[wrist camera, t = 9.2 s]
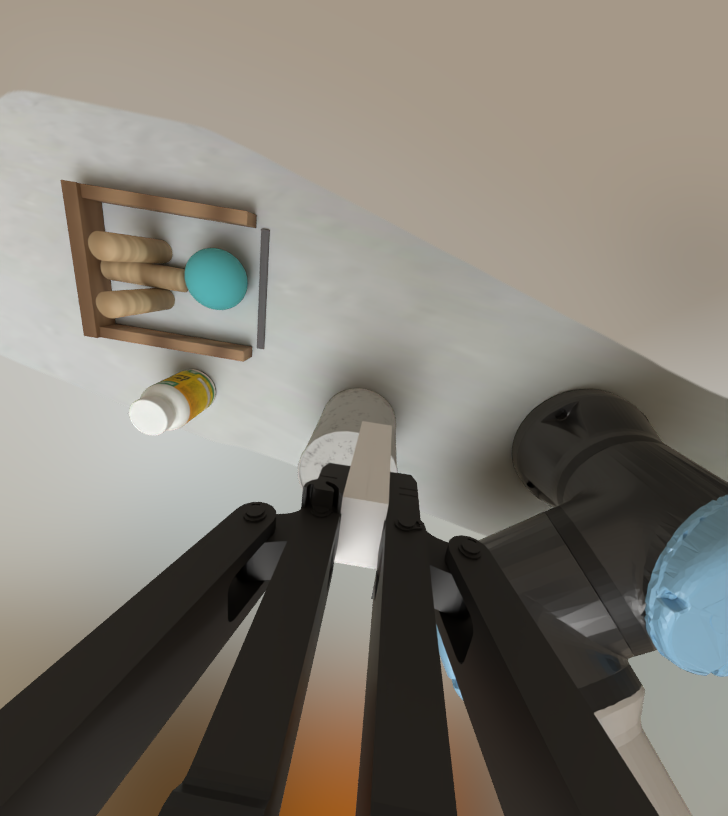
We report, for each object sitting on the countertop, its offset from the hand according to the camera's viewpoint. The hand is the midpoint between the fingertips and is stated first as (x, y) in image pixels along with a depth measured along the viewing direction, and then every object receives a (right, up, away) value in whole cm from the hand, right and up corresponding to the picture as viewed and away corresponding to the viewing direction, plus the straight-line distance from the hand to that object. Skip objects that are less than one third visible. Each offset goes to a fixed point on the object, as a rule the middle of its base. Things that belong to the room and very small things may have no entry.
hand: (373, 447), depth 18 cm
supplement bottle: (-22, +5, +26) cm, 34 cm away
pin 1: (-23, +19, +20) cm, 36 cm away
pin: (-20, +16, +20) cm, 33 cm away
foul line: (-12, +15, +21) cm, 29 cm away
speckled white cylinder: (-1, 0, +27) cm, 27 cm away
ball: (-16, +15, +18) cm, 29 cm away
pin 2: (-24, +15, +22) cm, 36 cm away
